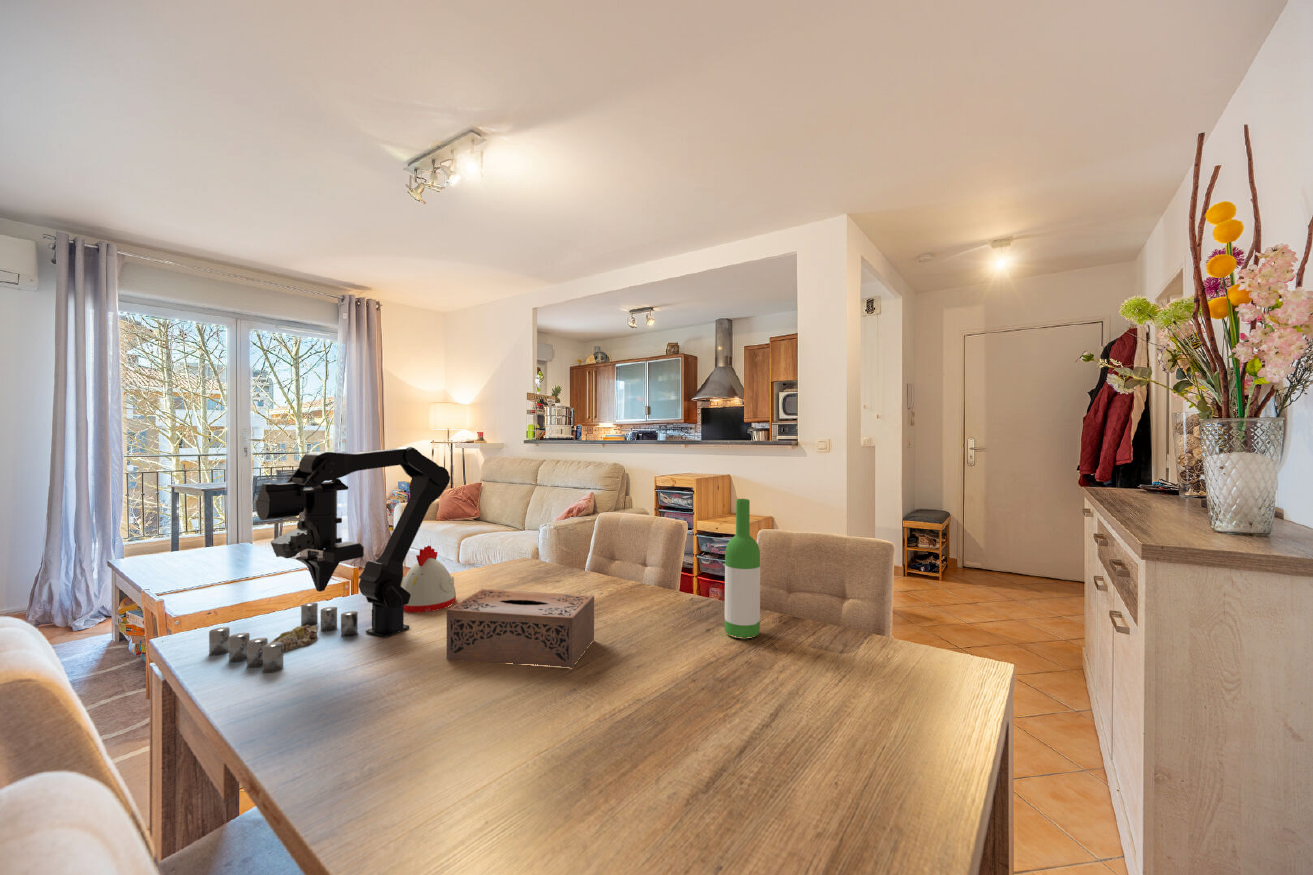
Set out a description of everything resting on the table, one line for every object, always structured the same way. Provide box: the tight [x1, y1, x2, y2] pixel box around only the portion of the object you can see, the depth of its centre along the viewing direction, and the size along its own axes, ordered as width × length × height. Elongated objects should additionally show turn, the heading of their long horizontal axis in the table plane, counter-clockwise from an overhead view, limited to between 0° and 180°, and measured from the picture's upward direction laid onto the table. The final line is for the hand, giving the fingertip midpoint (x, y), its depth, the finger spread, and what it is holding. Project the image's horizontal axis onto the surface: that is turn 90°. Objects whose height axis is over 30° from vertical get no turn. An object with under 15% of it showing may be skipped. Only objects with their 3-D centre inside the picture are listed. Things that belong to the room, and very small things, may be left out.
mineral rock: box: [268, 625, 319, 653], centre depth 114 cm, size 11×4×8 cm
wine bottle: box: [724, 498, 761, 638], centre depth 120 cm, size 8×8×30 cm
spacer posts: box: [208, 602, 359, 674], centre depth 113 cm, size 21×21×4 cm
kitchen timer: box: [401, 545, 457, 613], centre depth 141 cm, size 14×14×15 cm
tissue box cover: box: [446, 588, 595, 669], centre depth 111 cm, size 26×14×10 cm, turn 80°
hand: (320, 590), depth 110 cm, fingers closed
